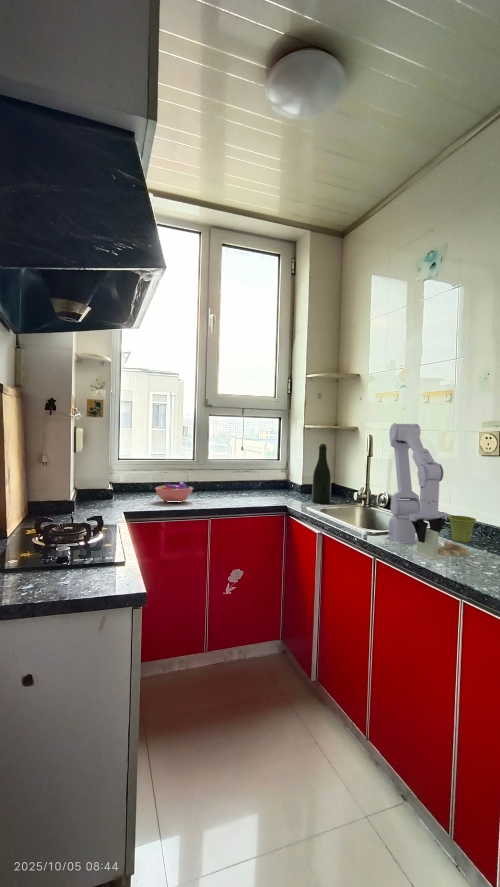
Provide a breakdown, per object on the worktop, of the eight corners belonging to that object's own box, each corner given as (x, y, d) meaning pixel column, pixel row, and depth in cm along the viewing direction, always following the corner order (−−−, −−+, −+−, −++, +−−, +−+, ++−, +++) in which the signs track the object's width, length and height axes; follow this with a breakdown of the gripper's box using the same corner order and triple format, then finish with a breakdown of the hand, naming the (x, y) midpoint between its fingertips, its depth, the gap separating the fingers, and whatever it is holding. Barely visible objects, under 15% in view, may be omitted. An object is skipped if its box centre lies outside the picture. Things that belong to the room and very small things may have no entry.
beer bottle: (330, 501, 243) (332, 443, 242) (331, 504, 233) (333, 444, 232) (311, 500, 245) (313, 443, 244) (311, 503, 234) (313, 443, 233)
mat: (408, 552, 144) (408, 550, 144) (424, 550, 146) (424, 549, 146) (429, 560, 135) (429, 558, 135) (445, 558, 138) (445, 556, 138)
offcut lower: (430, 554, 145) (430, 550, 145) (438, 553, 147) (438, 550, 147) (444, 559, 140) (444, 555, 140) (452, 558, 141) (453, 554, 141)
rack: (436, 549, 148) (436, 542, 148) (446, 548, 150) (446, 541, 150) (457, 557, 140) (457, 549, 140) (467, 555, 142) (468, 548, 141)
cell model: (155, 499, 234) (156, 479, 234) (192, 499, 238) (192, 479, 237) (154, 505, 217) (154, 483, 217) (193, 505, 221) (194, 483, 221)
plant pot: (480, 544, 157) (481, 520, 157) (455, 543, 157) (456, 520, 156) (466, 537, 166) (467, 515, 166) (443, 537, 166) (443, 515, 166)
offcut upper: (432, 551, 145) (432, 547, 145) (438, 550, 146) (438, 547, 146) (443, 555, 140) (443, 551, 140) (450, 554, 141) (450, 551, 141)
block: (416, 551, 144) (417, 527, 143) (421, 550, 144) (422, 527, 144) (432, 557, 137) (433, 532, 137) (437, 556, 138) (438, 532, 138)
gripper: (421, 503, 134) (419, 546, 134) (455, 501, 139) (453, 542, 140) (405, 499, 140) (403, 540, 141) (438, 498, 146) (436, 537, 146)
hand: (427, 541), depth 141 cm, fingers open, 5 cm apart
